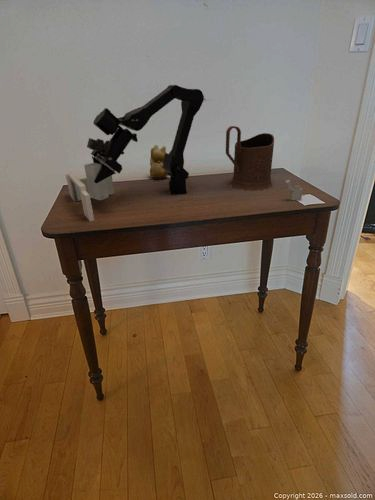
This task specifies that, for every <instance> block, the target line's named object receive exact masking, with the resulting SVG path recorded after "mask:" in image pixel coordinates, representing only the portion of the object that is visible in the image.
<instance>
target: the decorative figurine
mask: <svg viewBox="0 0 375 500" xmlns="http://www.w3.org/2000/svg"><path fill="white" fill-rule="evenodd" d="M166 149H167V147H166V146H165V145H163V146H162V147H161V148H159V145H157V144H155V145H154V146H153V147H151V148H150V160H149V161H150V162H149V166H150V168H149V174H150V177H151V179H153V180H159V179H160V180H162V179H166V178H167V177H169V176H168V174H167V172H166V171H165V170H164V168H163V163H162V162H163V160H164V156H165V153H167V151H166Z"/></svg>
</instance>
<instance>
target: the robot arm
mask: <svg viewBox="0 0 375 500" xmlns="http://www.w3.org/2000/svg"><path fill="white" fill-rule="evenodd" d="M175 99H176V100H177V101H180V106H181V108H180V109H181V115H180V119H179V122H178V126H177V129H176V133H175V136H174V140H173V143H172V147H171V150H169V151H170V152H169V153H167V152H166V153H165V156H164V160H163V162H162V163H163V168H164V170H165V171H166V172H167V174H168V176H167V177H169V179H168V185H169V187H168V188H169V189H168V190H169V192H170V195H180V194H181V195H182V194H187V193H188V192H187V179H188V178H189V176H190V172H188V170H187V169H185V168H184V166H185V156H184V152H185V150H186V145H187V142H188V138H189V135H190V131H191V129H192V128H191V127H192V125H193V122H194V118H195V116H196V115H197V113H198V112H199V111H200V110H201V108H202V105H203V103H204V100H205V95H204V93H203V91H202V90H200V89H199V88H186V87H182V86H179V85H177V84H170V85H168V86H166V88H165V89H164V90H162V91H161V92H160V93H158V94H157V95H156V96H154V97H153V98H151V99H150V100H149V101H147V102H146V103H145V104H144V105H142V106H140V107H139V106H138V107H137V108H135V109H132V110H130V111H128V112H126V113H125V114H124V115H123V116H121V117H117V116H115V114H113V113H112V112H111V110H110V109H109V108H108V107H107V108H106V107H105V108H103V110H102V111H101V112H99V114H97V115H96V116H95V118H94V120H93V125H94V126H95V127H96V128H98V129H99V130H100V131H101V132H102V133H104V134H105V135H106V136H109V135H110V136H111V138H110V139H109V140H105V142H104V139H100V138H97V139H94V138H91V137H89V138H88V141H87V145H86V148H88V149H90V150H92V151H91V152H90V155H91V159H92V163H97V164H100V166H101V168H100V170H99V172H98V174H97V176H96V178H95V180H94V182H95V183H96V184H97V183H99V182H100V181H102V180H104V179H106V178H107V177H109V176H111V175H112V176H113V175H116V174H121V172H122V171H123V166H122V164H121V163H119V161H118V159H119V158H120V157H121V155H124V154H125V149H126V148H127V146H128V145H129V143H130V142H131V141H133V142H136V143H137V142H138V141H139V140H138V136H137V135H138V134H137V133H134V132H138V131H141V130H142V129H143V128H145V126H146V125H147V124H148V122H149V120H150V119H151V118H152V117H153V116H154V115H155V114H157V113H158V112H159V111H160V110H162V109H163V108H164V107H166V106H167V105H168V104H170V103H171V102H172V101H173V100H175ZM122 126H123V127H122ZM124 127H125V128H124ZM131 131H134V132H131Z"/></svg>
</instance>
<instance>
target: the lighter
mask: <svg viewBox="0 0 375 500" xmlns="http://www.w3.org/2000/svg"><path fill="white" fill-rule="evenodd" d="M284 184H285V187H286V189H287V191H288V192H289V193H290V194H289V199H290V201H292V200H296V201H300V200H299V199H301V200H302V199H303V198H302V197H303V191H304V189H303V188H302V187H301V185H294V186H292V183H291V180H290V179H289V178H288V179H286V180H285V181H284ZM292 202H293V201H292Z"/></svg>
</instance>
